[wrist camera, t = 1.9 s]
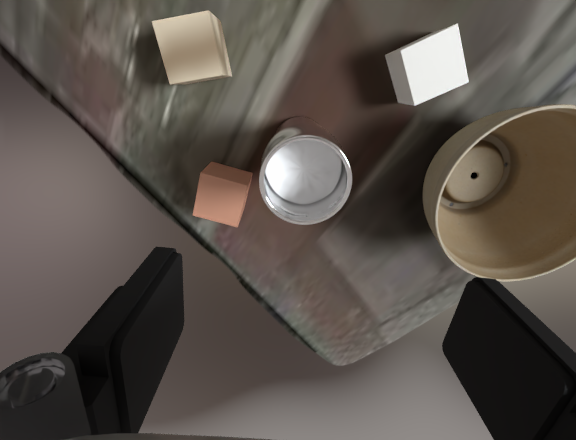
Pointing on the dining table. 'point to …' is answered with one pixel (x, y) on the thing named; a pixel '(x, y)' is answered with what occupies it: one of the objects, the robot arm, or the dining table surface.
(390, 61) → the cream block
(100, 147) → the dining table surface
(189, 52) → the beech block
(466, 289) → the robot arm
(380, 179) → the dining table surface
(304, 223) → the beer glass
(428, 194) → the planter bowl
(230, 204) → the rust block
